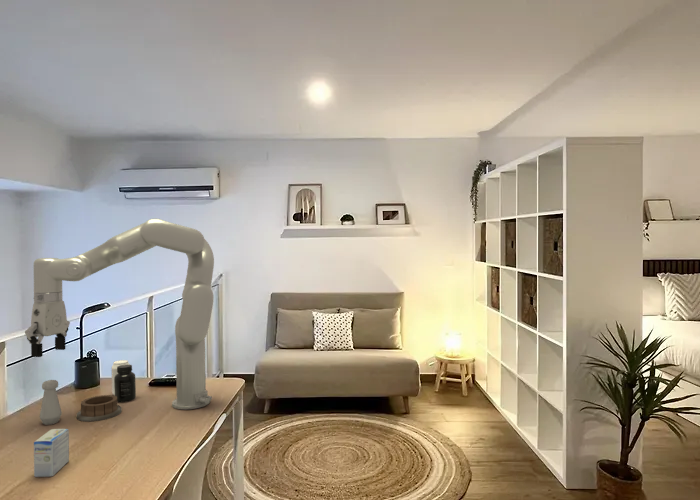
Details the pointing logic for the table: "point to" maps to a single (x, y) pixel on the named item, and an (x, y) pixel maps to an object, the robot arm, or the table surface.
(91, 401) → the walnut sleeve
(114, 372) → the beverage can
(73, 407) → the table surface
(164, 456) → the table surface
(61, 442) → the medicine box
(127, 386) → the supplement bottle
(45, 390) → the salt shaker
